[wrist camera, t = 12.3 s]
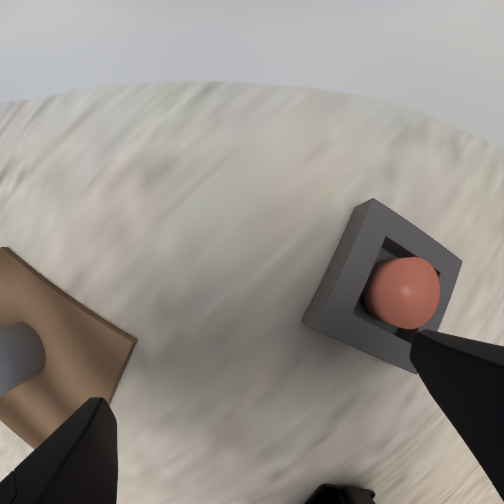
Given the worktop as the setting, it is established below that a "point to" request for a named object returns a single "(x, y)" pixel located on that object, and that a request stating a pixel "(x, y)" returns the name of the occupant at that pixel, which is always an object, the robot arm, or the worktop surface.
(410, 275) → the button
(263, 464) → the worktop surface
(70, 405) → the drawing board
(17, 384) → the grey capped bottle
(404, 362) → the button housing
